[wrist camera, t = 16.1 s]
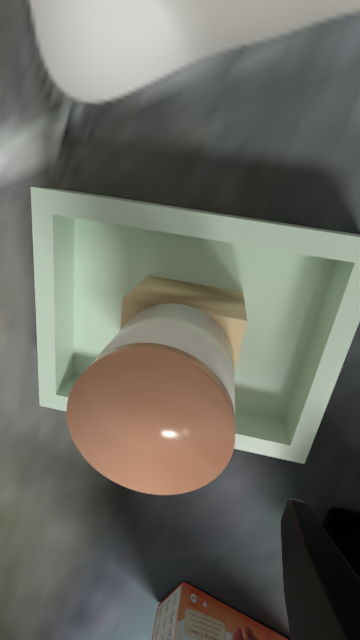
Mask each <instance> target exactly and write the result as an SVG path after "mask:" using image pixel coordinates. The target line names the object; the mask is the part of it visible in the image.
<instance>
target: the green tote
mask: <svg viewBox="0 0 360 640" xmlns="http://www.w3.org/2000/svg"><path fill="white" fill-rule="evenodd" d="M31 207H32V231H33V255H34V279H35V303H36V327H37V351H38V375H39V400H40V406H44V407H48V408H53V409H57V410H62V411H66V410H67V401H68V398H69V394H70V392H71V389H72V387H73V385H74V384H75V382H76V381H77V379H78V378H79V377H80V376H81V374H82V373H83V372H84V371H85V370H86V369H87V368H88V366H89V365H90V364H91V363H92V362H93V361H94V360H95V359H96V357H97V356H98V355H99V354H100V353H101V352H102V351H103V350H104V348H105V347H106V346H107V345H108V344H109V343H110V342H111V340H112V339H113V338H114V337H115V336H116V335H117V334H118V333H119V331H120V324H121V310H122V298H123V297H124V296H125V295H126V294H128V293H129V292H130V291H131V290H132V289H133V288H134V287H135V286H137V285H138V284H139V283H140V282H141V281H142V280H143V279H145V278H146V277H147V276H148V275H149V276H155V277H160V278H166V279H172V280H178V281H183V282H189V283H195V284H201V285H206V286H212V287H218V288H224V289H229V290H235V291H241V292H243V294H244V301H245V308H246V315H247V324H246V329H245V333H244V337H243V341H242V345H241V350H240V354H239V358H238V362H237V367H236V371H235V445H234V449H238V450H243V451H247V452H252V453H256V454H261V455H265V456H270V457H275V458H279V459H284V460H288V461H293V462H297V463H302V464H305V461H306V459H307V456H308V454H309V451H310V448H311V446H312V443H313V441H314V438H315V435H316V433H317V430H318V428H319V425H320V423H321V420H322V417H323V415H324V412H325V410H326V407H327V404H328V402H329V399H330V397H331V394H332V391H333V389H334V386H335V384H336V381H337V379H338V376H339V373H340V371H341V368H342V366H343V363H344V360H345V358H346V355H347V353H348V350H349V347H350V345H351V342H352V340H353V337H354V335H355V332H356V329H357V327H358V324H359V322H360V234H354V233H347V232H341V231H334V230H327V229H321V228H314V227H308V226H301V225H295V224H288V223H281V222H275V221H268V220H262V219H255V218H248V217H242V216H235V215H229V214H222V213H216V212H209V211H202V210H196V209H189V208H183V207H176V206H169V205H163V204H156V203H150V202H143V201H137V200H130V199H123V198H117V197H110V196H104V195H97V194H90V193H84V192H77V191H71V190H64V189H52V188H39V187H31Z"/></svg>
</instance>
